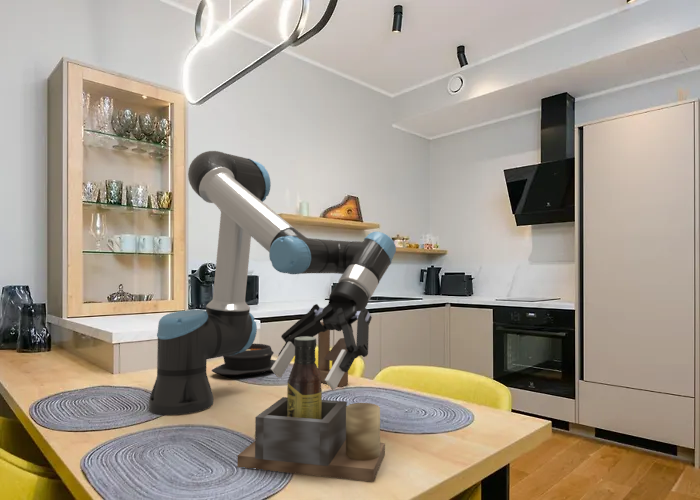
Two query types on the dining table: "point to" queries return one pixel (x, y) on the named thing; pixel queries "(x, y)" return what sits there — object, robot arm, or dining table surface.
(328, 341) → the wooden block
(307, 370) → the sauce bottle
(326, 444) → the post socket
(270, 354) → the casserole
